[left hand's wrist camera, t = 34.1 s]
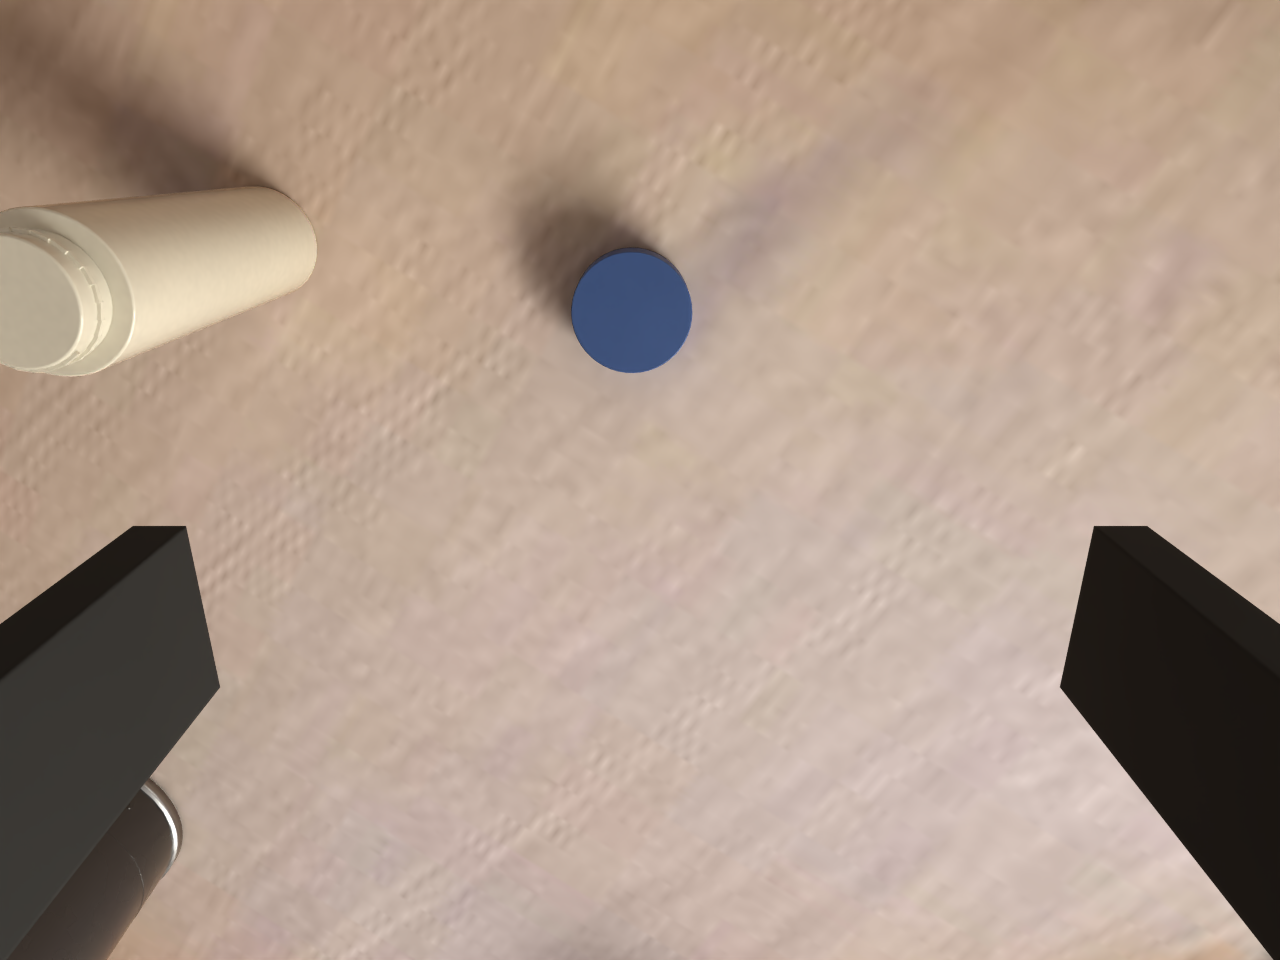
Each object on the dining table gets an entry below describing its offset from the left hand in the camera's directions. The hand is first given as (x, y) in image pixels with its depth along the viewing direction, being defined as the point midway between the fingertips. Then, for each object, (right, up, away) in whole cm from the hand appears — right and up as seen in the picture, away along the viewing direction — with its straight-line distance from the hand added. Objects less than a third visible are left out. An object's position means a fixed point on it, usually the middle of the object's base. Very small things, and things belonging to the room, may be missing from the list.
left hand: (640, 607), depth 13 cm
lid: (0, +9, +24) cm, 25 cm away
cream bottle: (-16, +12, +24) cm, 31 cm away
